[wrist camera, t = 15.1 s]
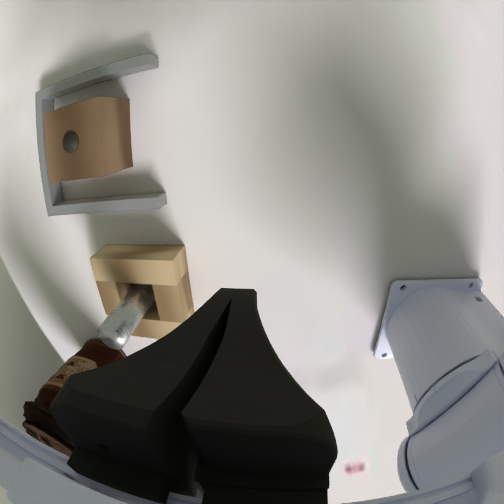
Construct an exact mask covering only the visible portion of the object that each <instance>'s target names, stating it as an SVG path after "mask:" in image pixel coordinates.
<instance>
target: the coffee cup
mask: <svg viewBox="0 0 504 504" xmlns="http://www.w3.org/2000/svg"><path fill="white" fill-rule="evenodd" d="M125 357H126V356H125V355H124V354H123V352H122V351H121V350H117V349H112V348H110V347H108V346H107V345H106V344H105V343H103V341H102V340H99V339H90V340H88V341H87V342H86V343H85V344H84V346H83V348H82V349H81V350H80V351H78V352H77V353H76V354H75V355H74V356H72V357H71V358H69V359H68V360H67V361H66V362H65V363H64V365H63V366H62V367H61V368H60V369H59V370H58V371H57V372H56V373H55V374H54V375H53V376H52V377H51V378H50V379H49V380H48V381H47V382H46V383H45V384H44V386H43V387H42V388H41V389H40V391H39V394H38V396H37V398H36V399H35V402H32V401H30V402H28V401H26V402H25V405H24V414H23V415H24V416H25V418H26V420H25V421H24V422H23V424H22V425H23V427H24V428H25V429H26V432H27V433H28V434H29V435H30V436H32V437H33V438H34V439H36V440H38V441H40V442H41V443H43V444H45V445H47V446H49V447H51V448H53V449H55V450H56V451H58V452H60V453H62V454H65V455H67V456H69V457H70V456H71V454H72V452H73V450H74V448H75V446H76V445H75V444H74V443H73V442H72V441H71V439H70V438H69V437H68V436H67V435H66V434H65V432H64V431H63V430H62V429H61V428H60V426H59V425H58V424H57V423H56V421H55V420H54V418H53V416H52V414H51V411H50V404H51V403H52V401H53V400H54V398H55V397H56V395H57V394H58V392H59V391H60V389H61V388H62V386H63V385H64V383H65V382H66V381H67V379H68V378H69V376H70V375H71V374H76V373H80V372H83V371H87V370H91V369H94V368H98V367H101V366H104V365H107V364H109V363H112V362H115V361H117V360H120V359H122V358H125Z"/></svg>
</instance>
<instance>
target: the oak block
mask: <svg viewBox="0 0 504 504" xmlns="http://www.w3.org/2000/svg"><path fill="white" fill-rule="evenodd" d="M90 261H91V265H92V269H93V273H94V276H95V280H96V283H97V287H98V290H99V293H100V297H101V300H102V303H103V306H104V309H105V312H106V315H107V317H108V316H109V315H110V313H111V312H112V311H113V310H114V309H115V307H116V306H117V305H118V304H119V302H120V301H121V300H122V299H123V298H124V296H125V295H126V294H127V293H128V292H129V290H130V289H131V288H132V287H133V286H134V283H137V284H152V286H153V291H154V296H155V300H156V301H154V302H153V303H152V305H151V306H150V307H149V309H148V310H147V312H146V313H145V315H144V316H143V318H142V319H141V321H140V322H139V324H138V325H137V327H136V328H135V330H134V331H133V333H132V334H131V335H133V336H140V337H147V338H155V339H161V338H162V337H164V336H165V335H167V334H168V333H170V332H171V331H172V330H174V329H175V328H177V327H178V326H179V325H180V324H182V323H183V322H184V321H185V320H187V319H188V318H189V317H190V316H191V315H193V314H194V307H193V301H192V294H191V288H190V281H189V274H188V267H187V259H186V252H185V245H106V246H105V247H103V248H102V249H101V250H99V251H98V252H97V253H96V254H94V255H93V256H92V257H91V258H90Z"/></svg>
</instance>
